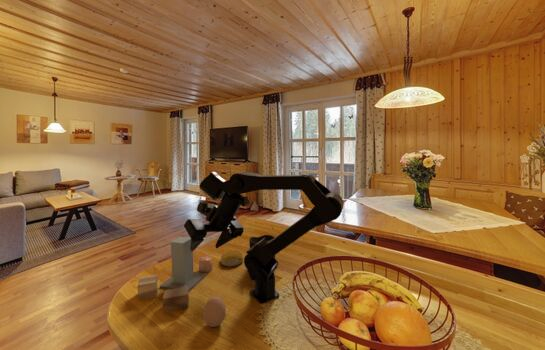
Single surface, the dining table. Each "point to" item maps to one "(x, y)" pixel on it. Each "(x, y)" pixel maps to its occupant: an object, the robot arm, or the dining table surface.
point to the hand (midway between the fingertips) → (204, 248)
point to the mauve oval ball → (214, 312)
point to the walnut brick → (175, 299)
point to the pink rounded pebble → (205, 264)
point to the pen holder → (259, 239)
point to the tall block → (182, 260)
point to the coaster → (191, 284)
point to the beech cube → (147, 287)
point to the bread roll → (231, 258)
